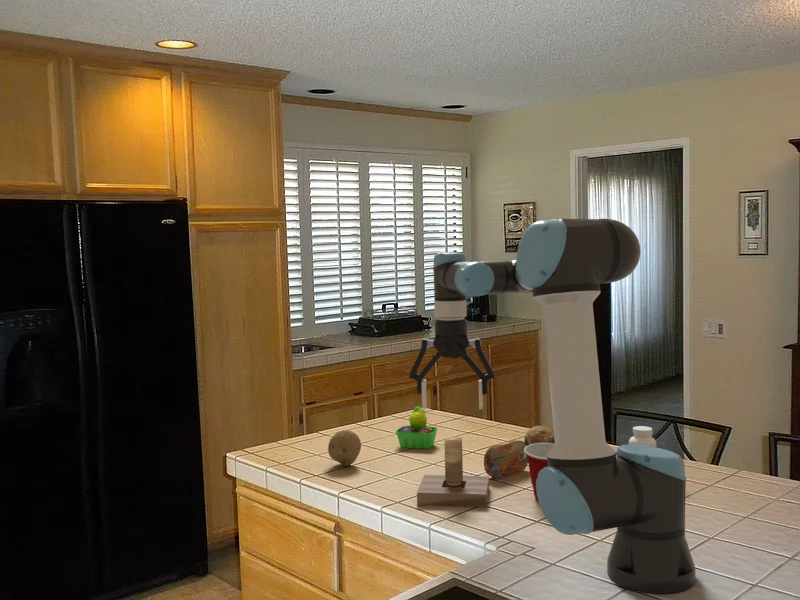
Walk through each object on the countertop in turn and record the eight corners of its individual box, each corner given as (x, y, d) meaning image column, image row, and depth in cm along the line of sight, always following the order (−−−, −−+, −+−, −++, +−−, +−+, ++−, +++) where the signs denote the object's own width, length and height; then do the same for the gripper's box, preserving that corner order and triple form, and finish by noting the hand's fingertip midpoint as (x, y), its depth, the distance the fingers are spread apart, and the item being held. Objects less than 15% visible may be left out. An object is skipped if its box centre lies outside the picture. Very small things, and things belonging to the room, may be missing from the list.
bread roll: (523, 456, 235) (513, 433, 233) (548, 437, 239) (538, 415, 237) (542, 464, 226) (532, 440, 224) (568, 444, 230) (558, 421, 228)
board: (486, 507, 180) (486, 494, 180) (417, 505, 183) (416, 492, 183) (489, 488, 194) (488, 476, 194) (424, 486, 197) (424, 474, 196)
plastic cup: (536, 508, 178) (536, 456, 177) (517, 494, 189) (516, 445, 188) (579, 503, 181) (579, 452, 180) (558, 489, 192) (557, 441, 191)
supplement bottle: (626, 480, 198) (625, 429, 197) (631, 473, 203) (631, 424, 202) (653, 483, 194) (653, 432, 194) (658, 476, 200) (658, 426, 199)
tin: (490, 481, 199) (490, 449, 199) (481, 479, 202) (481, 446, 201) (530, 469, 209) (530, 438, 208) (521, 467, 211) (521, 436, 211)
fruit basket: (395, 448, 234) (394, 410, 233) (403, 441, 242) (402, 404, 241) (432, 450, 230) (431, 412, 229) (439, 442, 239) (438, 406, 238)
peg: (462, 499, 186) (461, 441, 185) (444, 499, 187) (443, 440, 186) (463, 493, 190) (462, 436, 189) (446, 493, 191) (445, 436, 190)
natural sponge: (346, 472, 210) (345, 436, 209) (321, 467, 215) (320, 431, 214) (368, 464, 217) (367, 429, 216) (343, 459, 222) (342, 425, 222)
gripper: (504, 316, 187) (505, 404, 189) (401, 317, 191) (403, 404, 192) (503, 319, 180) (504, 411, 181) (396, 320, 183) (398, 410, 185)
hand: (452, 408), depth 187 cm, fingers open, 13 cm apart
